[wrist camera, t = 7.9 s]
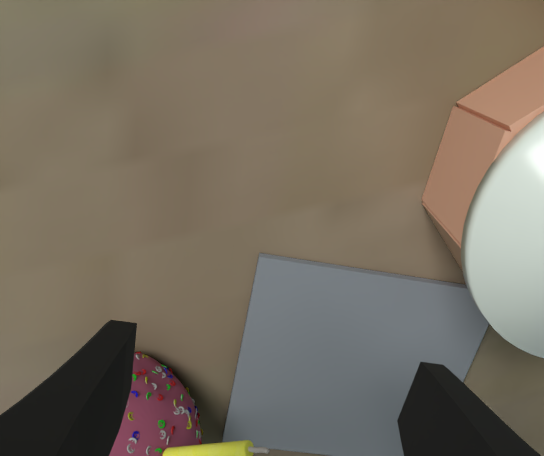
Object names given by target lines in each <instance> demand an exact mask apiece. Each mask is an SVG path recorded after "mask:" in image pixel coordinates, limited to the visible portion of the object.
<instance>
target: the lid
mask: <svg viewBox="0 0 544 456" xmlns="http://www.w3.org/2000/svg"><path fill="white" fill-rule="evenodd" d="M461 263H462V269H463V276H464V279H465V282H466V285H467V288H468V291H469V293H470V295H471V297H472V299H473V301H474V303H475V305H476V306H477V307H478V309H479V310H480V311H481V313H482V314H483V315H484V317H485V318H486V319H487V321H488V322H489V323H490V325H491V326H492V327H493V329H494V330H496V331H497V332H498V333H499V334H500V335H501V336H502V337H503V338H504V339H505V340H507V341H508V342H510V343H511V344H513V345H514V346H516V347H517V348H519V349H521V350H523V351H525V352H528V353H530V354H532V355H535V356H538V357H541V358H544V111H543V112H542V113H540V114H539V115H537V116H536V117H535V118H534V119H533V120H532V121H530V122H529V123H528V124H527V125H526V126H525V127H524V128H523V129H521V130H520V131H519V132H518V133H517V134H516V135H515V136H514V137H513V138H512V140H511V141H510V142H509V143H508V144H507V145H506V146H505V147H504V148H503V149H502V151H501V152H500V153H499V155H498V156H497V157H496V159H495V160H494V161H493V163H492V164H491V165H490V167H489V168H488V170H487V172H486V173H485V175H484V177H483V178H482V180H481V182H480V184H479V185H478V187H477V189H476V192H475V194H474V196H473V199H472V201H471V203H470V206H469V209H468V212H467V216H466V219H465V222H464V227H463V234H462V240H461Z"/></svg>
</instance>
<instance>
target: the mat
mask: <svg viewBox="0 0 544 456" xmlns="http://www.w3.org/2000/svg"><path fill="white" fill-rule="evenodd" d="M488 325H489V322H488V321H487V319H486V318H485V317H484V315H483V314H482V313H481V311H480V310H479V309H478V307H477V306H476V305H475V303H474V301H473V299H472V297H471V295H470V293H469V291H468V288H467V285H464V284H458V283H451V282H445V281H438V280H432V279H425V278H419V277H412V276H406V275H399V274H393V273H386V272H380V271H373V270H367V269H360V268H354V267H347V266H341V265H334V264H328V263H321V262H315V261H308V260H302V259H295V258H289V257H282V256H276V255H269V254H263V253H259V257H258V262H257V267H256V272H255V277H254V282H253V287H252V292H251V297H250V302H249V307H248V312H247V317H246V322H245V327H244V332H243V337H242V342H241V347H240V352H239V357H238V362H237V367H236V372H235V377H234V382H233V387H232V392H231V397H230V402H229V408H228V413H227V418H226V423H225V428H224V433H223V438H222V442H232V441H243V440H250V441H251V442H252V443H253V446H254V447H266V448H268V449H277V450H286V451H295V452H304V453H313V454H322V455H331V456H404V453H403V449H402V444H401V439H400V433H399V428H398V422H397V420H398V417H399V415H400V412H401V410H402V407H403V405H404V402H405V400H406V397H407V395H408V392H409V390H410V387H411V385H412V382H413V380H414V377H415V374H416V372H417V369H418V367H419V364H420V362H427V363H434V364H442V365H444V366H445V367H446V368H448V369H449V370H450V371H451V372H452V373H453V374H454V375H455V376H456V377H458V378H459V379H460V380H461V381H462V382H463V381H464V378H465V376H466V374H467V372H468V370H469V367H470V365H471V363H472V361H473V359H474V356H475V354H476V352H477V350H478V348H479V345H480V343H481V341H482V339H483V337H484V334H485V332H486V330H487V328H488Z"/></svg>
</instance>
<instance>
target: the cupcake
mask: <svg viewBox="0 0 544 456" xmlns="http://www.w3.org/2000/svg"><path fill="white" fill-rule="evenodd" d="M194 405H195V401H194V399H191V397H190V393H189V389H188V388H187V387H186V388H184V386H183V385H182V384H181V382H180V381H179V380H178V379H177V378H176V377H175V376H174V374H173V373H172V369H171V368H169V369H168V368H167V367H166V366H164V365H162V364H160V363H159V362H157V361H156V360H155V359H153V358H152V357H150V356H148V355H145V354H141V352H135V353H134V361H133V373H132V384H131V391H130V394H129V398H128V402H127V405H126V409H125V412H124V416H123V419H122V423H121V426H120V429H119V432H118V435H117V437H116V440H115V442H114V445H113V447H112V450H111V452H110V455H109V456H253V453H269V449H268V448H266V447H254V446H253V443H252V442H251V441H250V440H243V441H232V442H222V443H211V444H202V439H201V435H203V430H202V429H201V428H200V421H199V420H198V418H199V416H200V415H199V413H198V412H197V411H198V409H197V407H196V406H194ZM195 408H196V409H195ZM197 414H198V416H197ZM201 432H202V433H201Z"/></svg>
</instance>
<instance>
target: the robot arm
mask: <svg viewBox="0 0 544 456" xmlns="http://www.w3.org/2000/svg"><path fill="white" fill-rule="evenodd" d="M136 327H137V323H130V322H123V321H115V320H110V321H109V322H107V323H106V324H105V325H104V326H103V327H102V328H101V329H100V330H99V331H98V332H97V333H96V334H95V335H94V336H93V337H92V338H91V339H90V340H89V341H88V342H87V343H86V344H85V345H84V346H83V347H82V348H81V349H80V350H79V351H78V352H77V353H76V354H75V355H73V356H72V357H71V358H70V359H69V360H68V361H67V362H66V363H65V364H63V365H62V366H61V367H60V368H59V369H58V370H57V371H56V372H54V373H53V374H52V375H51V376H50V377H49V378H47V379H46V380H45V381H44V382H43V383H41V384H40V385H39V386H38V387H36V388H35V389H34V390H33V391H31V392H30V393H29V394H28V395H26V396H25V397H24V398H23V399H21V400H20V401H19V402H17V403H16V404H15V405H13V406H12V407H11V408H9V409H8V410H7V411H5V412H4V413H3V414H1V415H0V456H109V455H110V452H111V450H112V447H113V445H114V442H115V440H116V437H117V435H118V432H119V429H120V426H121V423H122V419H123V416H124V412H125V409H126V405H127V402H128V398H129V394H130V391H131V384H132V373H133V361H134V350H135V338H136ZM397 422H398V428H399V433H400V439H401V444H402V449H403V453H404V456H540V455H539V454H538V453H537V452H536V451H535V450H534V449H532V448H531V447H530V446H529V445H528V444H527V443H526V442H525V441H523V440H522V439H521V438H520V437H519V436H518V435H517V434H516V433H515V432H514V431H513V430H512V429H510V428H509V427H508V426H507V425H506V424H505V423H504V422H503V421H502V420H501V419H500V418H499V417H498V416H497V415H496V414H495V413H494V412H493V411H492V410H491V409H490V408H488V407H487V406H486V405H485V404H484V403H483V402H482V401H481V400H480V399H479V398H478V397H477V396H476V395H475V394H474V393H473V392H472V391H471V390H470V389H469V388H468V387H467V386H466V385H465V384H464V383H463V382H462V381H461V380H460V379H459V378H458V377H456V376H455V375H454V374H453V373H452V372H451V371H450V370H449V369H448V368H446V367H445V366H444V365H442V364H434V363H427V362H420V364H419V367H418V369H417V372H416V374H415V377H414V380H413V382H412V385H411V387H410V390H409V392H408V395H407V397H406V400H405V402H404V405H403V407H402V410H401V412H400V415H399V417H398V420H397Z"/></svg>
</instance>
